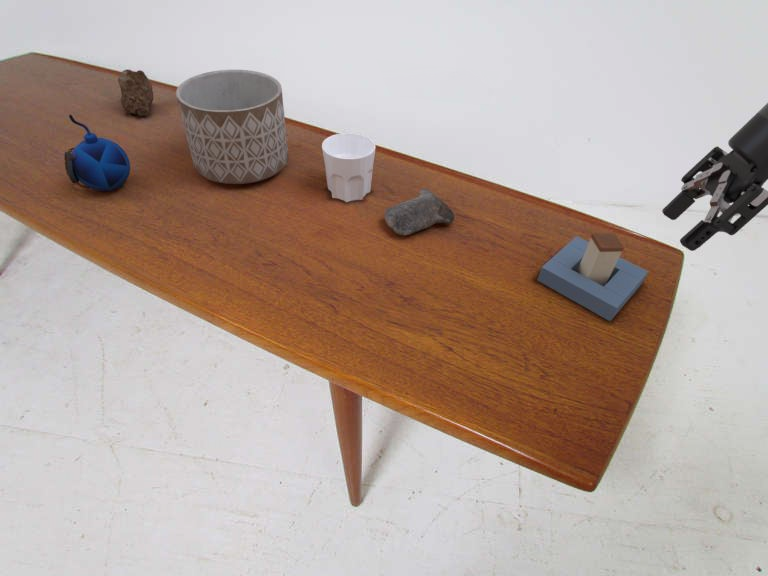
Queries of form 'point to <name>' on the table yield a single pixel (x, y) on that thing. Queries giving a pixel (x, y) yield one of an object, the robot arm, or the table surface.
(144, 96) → the rock
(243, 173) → the planter
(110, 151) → the bomb
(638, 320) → the table surface
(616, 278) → the blue square frame
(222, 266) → the table surface
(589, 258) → the brown square block
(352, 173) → the cup
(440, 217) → the stone
